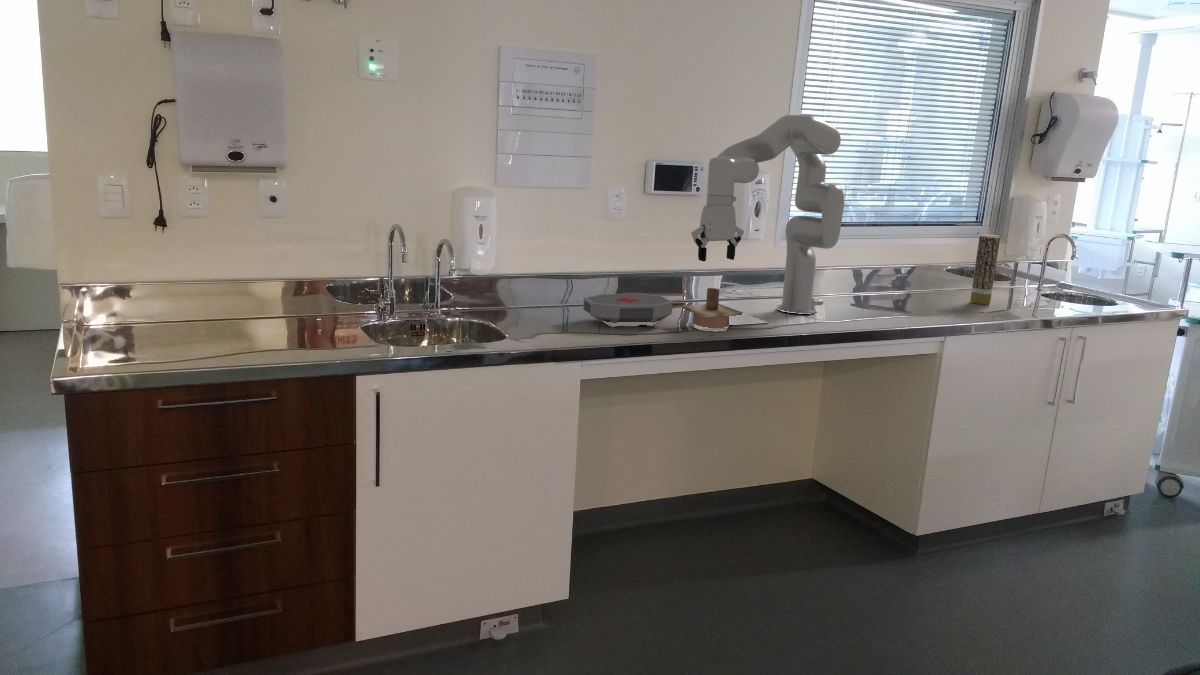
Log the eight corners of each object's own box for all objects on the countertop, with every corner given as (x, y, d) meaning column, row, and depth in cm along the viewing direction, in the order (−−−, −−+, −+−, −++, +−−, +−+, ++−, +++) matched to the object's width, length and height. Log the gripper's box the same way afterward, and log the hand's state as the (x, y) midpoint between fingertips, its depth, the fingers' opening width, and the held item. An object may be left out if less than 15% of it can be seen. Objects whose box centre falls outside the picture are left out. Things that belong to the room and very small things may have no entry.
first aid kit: (594, 331, 247) (675, 329, 253) (595, 306, 245) (677, 304, 252) (579, 318, 263) (656, 316, 270) (580, 294, 261) (657, 293, 268)
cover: (718, 306, 264) (720, 284, 262) (742, 315, 252) (744, 292, 251) (681, 308, 258) (683, 286, 257) (704, 317, 247) (706, 294, 245)
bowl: (715, 323, 263) (716, 307, 262) (733, 330, 254) (735, 314, 253) (687, 325, 259) (688, 309, 258) (704, 332, 250) (706, 316, 249)
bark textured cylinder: (993, 305, 311) (1003, 236, 305) (974, 304, 311) (984, 236, 305) (985, 302, 318) (995, 234, 312) (967, 301, 318) (976, 233, 312)
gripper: (737, 199, 255) (734, 256, 259) (687, 200, 248) (684, 259, 252) (752, 202, 248) (748, 260, 252) (700, 203, 241) (697, 263, 245)
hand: (716, 259), depth 252 cm, fingers open, 9 cm apart
